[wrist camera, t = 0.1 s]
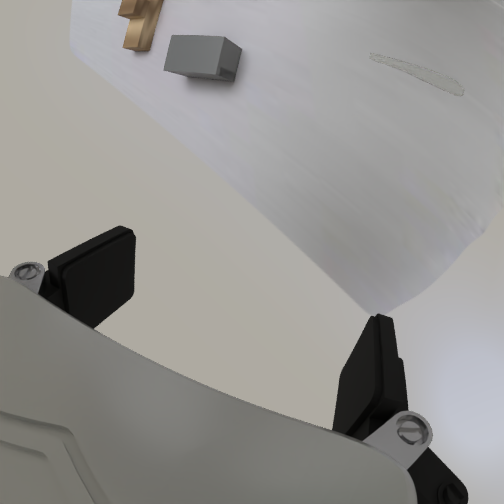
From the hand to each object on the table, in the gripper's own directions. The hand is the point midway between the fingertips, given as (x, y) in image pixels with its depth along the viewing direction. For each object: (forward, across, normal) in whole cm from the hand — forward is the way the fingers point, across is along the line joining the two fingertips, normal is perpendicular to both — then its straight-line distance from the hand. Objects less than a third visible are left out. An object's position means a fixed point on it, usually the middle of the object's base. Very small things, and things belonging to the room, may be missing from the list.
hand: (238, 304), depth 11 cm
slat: (+32, +31, -22) cm, 49 cm away
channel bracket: (+31, +18, -13) cm, 38 cm away
